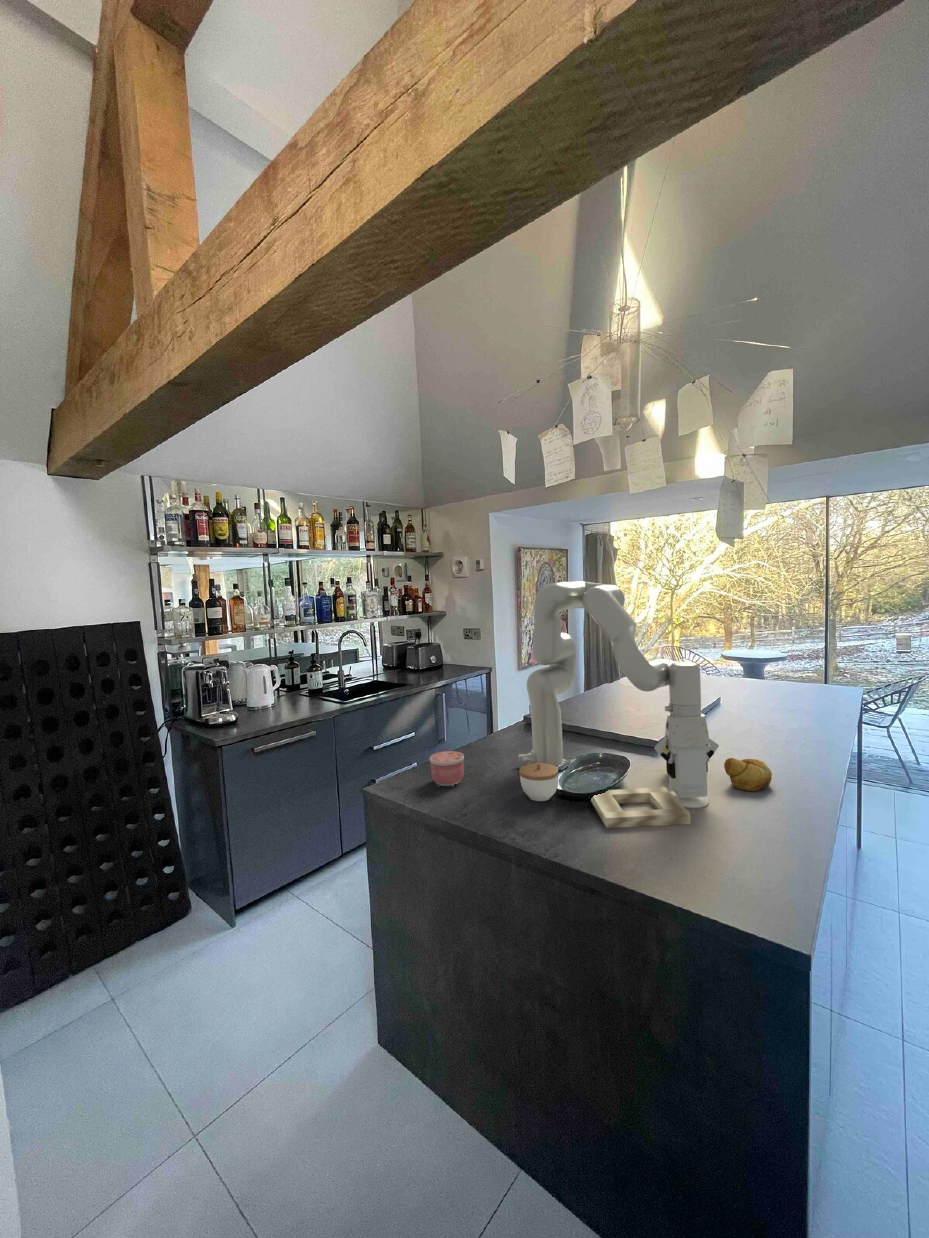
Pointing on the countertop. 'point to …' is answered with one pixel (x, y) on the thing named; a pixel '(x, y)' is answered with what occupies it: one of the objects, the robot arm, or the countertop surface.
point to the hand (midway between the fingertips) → (687, 775)
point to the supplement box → (690, 773)
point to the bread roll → (748, 773)
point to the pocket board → (659, 797)
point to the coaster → (691, 801)
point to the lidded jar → (539, 780)
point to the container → (447, 767)
